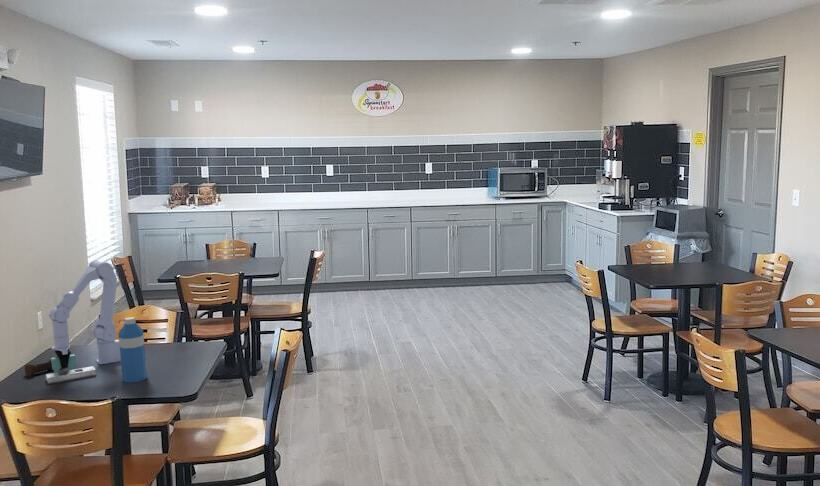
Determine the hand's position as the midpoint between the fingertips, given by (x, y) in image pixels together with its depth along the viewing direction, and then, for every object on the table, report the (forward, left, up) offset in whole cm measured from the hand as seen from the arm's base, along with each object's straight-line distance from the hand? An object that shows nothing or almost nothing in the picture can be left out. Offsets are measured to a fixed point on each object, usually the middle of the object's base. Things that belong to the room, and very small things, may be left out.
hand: (64, 367), depth 321 cm
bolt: (+6, -6, -2) cm, 9 cm away
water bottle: (-22, +29, -2) cm, 36 cm away
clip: (0, 0, -2) cm, 2 cm away
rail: (-1, +11, -2) cm, 11 cm away
